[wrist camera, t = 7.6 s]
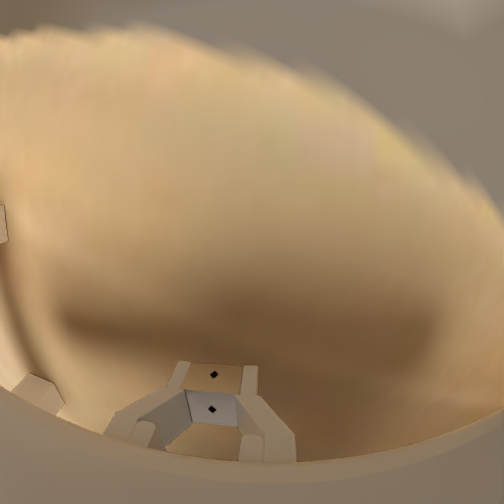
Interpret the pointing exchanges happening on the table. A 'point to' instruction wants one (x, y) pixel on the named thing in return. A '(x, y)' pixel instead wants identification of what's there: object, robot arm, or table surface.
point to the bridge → (31, 385)
